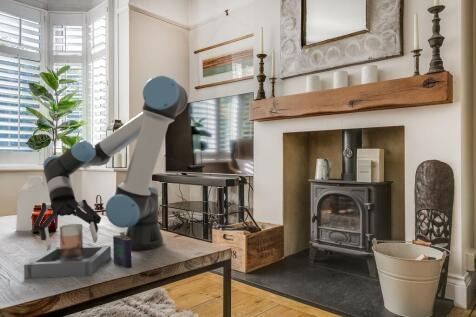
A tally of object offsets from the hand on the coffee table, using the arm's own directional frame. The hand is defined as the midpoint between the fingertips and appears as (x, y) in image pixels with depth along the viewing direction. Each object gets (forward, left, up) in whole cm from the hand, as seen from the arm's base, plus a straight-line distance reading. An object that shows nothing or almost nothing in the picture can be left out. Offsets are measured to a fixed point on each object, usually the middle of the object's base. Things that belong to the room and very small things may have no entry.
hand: (73, 244), depth 106 cm
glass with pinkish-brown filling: (+1, -2, -7) cm, 7 cm away
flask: (-15, -2, -8) cm, 17 cm away
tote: (+1, -2, -8) cm, 8 cm away
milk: (+43, -66, -8) cm, 79 cm away
